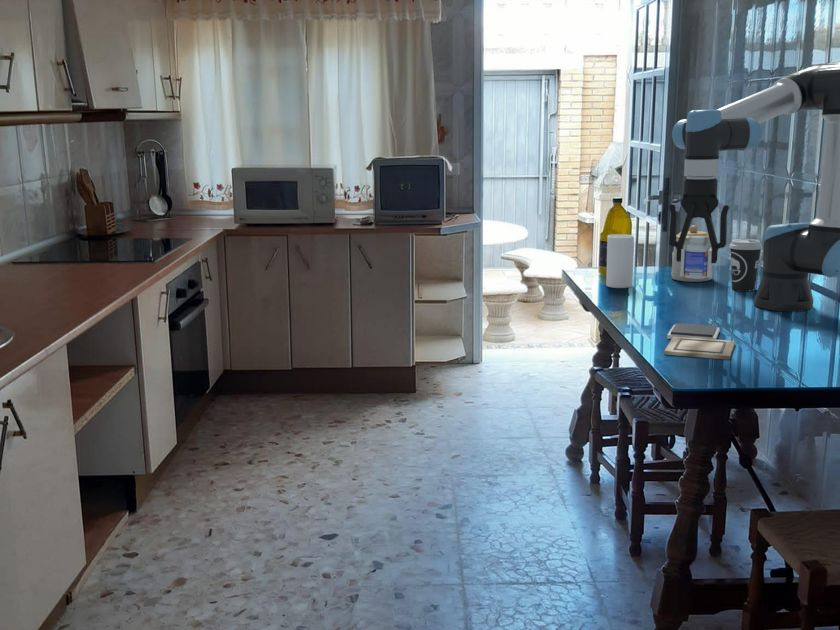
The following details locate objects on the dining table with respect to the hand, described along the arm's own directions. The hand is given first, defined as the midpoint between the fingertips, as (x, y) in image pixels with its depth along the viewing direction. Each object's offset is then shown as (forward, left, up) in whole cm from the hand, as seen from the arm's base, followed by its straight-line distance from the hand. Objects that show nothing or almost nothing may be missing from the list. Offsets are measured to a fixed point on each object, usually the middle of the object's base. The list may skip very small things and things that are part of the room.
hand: (695, 275), depth 205 cm
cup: (+30, -61, -15) cm, 70 cm away
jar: (+10, -79, -15) cm, 81 cm away
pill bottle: (0, 0, -1) cm, 1 cm away
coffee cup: (-7, -65, -15) cm, 67 cm away
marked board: (-3, +11, -15) cm, 19 cm away
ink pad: (0, -2, -15) cm, 15 cm away
